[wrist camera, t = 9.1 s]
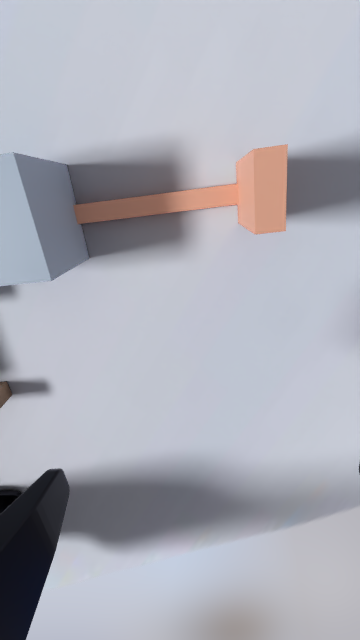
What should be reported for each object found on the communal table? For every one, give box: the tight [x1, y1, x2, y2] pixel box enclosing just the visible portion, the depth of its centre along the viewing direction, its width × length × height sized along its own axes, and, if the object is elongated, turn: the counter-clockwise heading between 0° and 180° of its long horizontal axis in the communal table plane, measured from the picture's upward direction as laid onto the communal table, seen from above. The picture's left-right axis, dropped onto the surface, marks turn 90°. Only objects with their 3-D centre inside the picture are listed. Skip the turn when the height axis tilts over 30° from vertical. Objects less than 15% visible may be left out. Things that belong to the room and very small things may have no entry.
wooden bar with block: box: [0, 144, 288, 286], centre depth 14 cm, size 5×15×5 cm, turn 97°
